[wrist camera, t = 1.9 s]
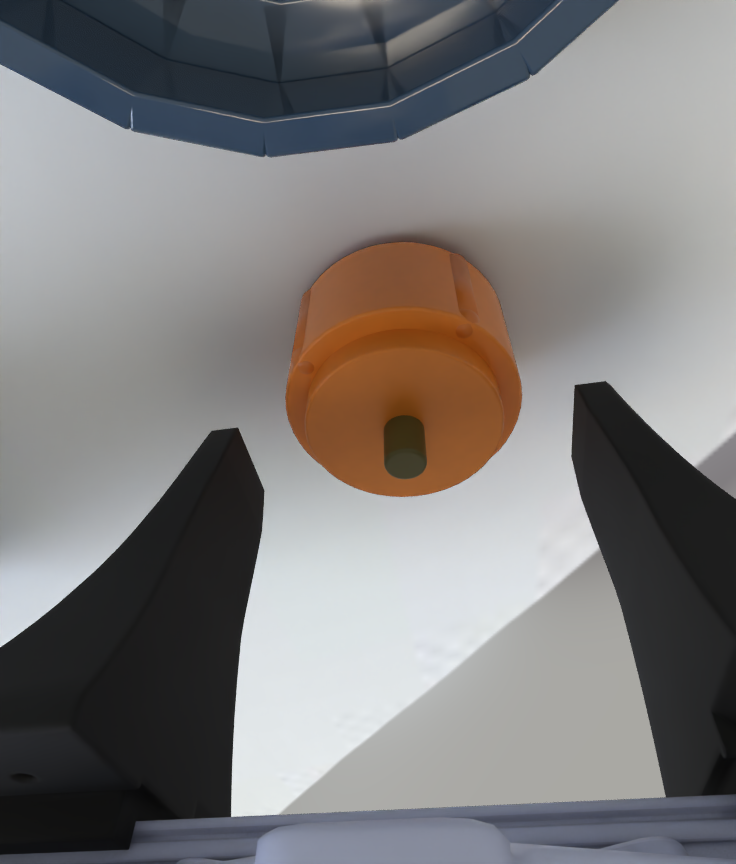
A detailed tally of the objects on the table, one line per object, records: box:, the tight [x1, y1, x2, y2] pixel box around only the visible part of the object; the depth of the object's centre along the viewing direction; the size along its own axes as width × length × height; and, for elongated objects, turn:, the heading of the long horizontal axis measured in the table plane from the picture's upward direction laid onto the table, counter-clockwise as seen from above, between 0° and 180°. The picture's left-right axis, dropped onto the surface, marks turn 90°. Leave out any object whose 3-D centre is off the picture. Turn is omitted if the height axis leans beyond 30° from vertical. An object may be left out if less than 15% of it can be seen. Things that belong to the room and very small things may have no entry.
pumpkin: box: [285, 242, 522, 497], centre depth 15 cm, size 6×6×5 cm
